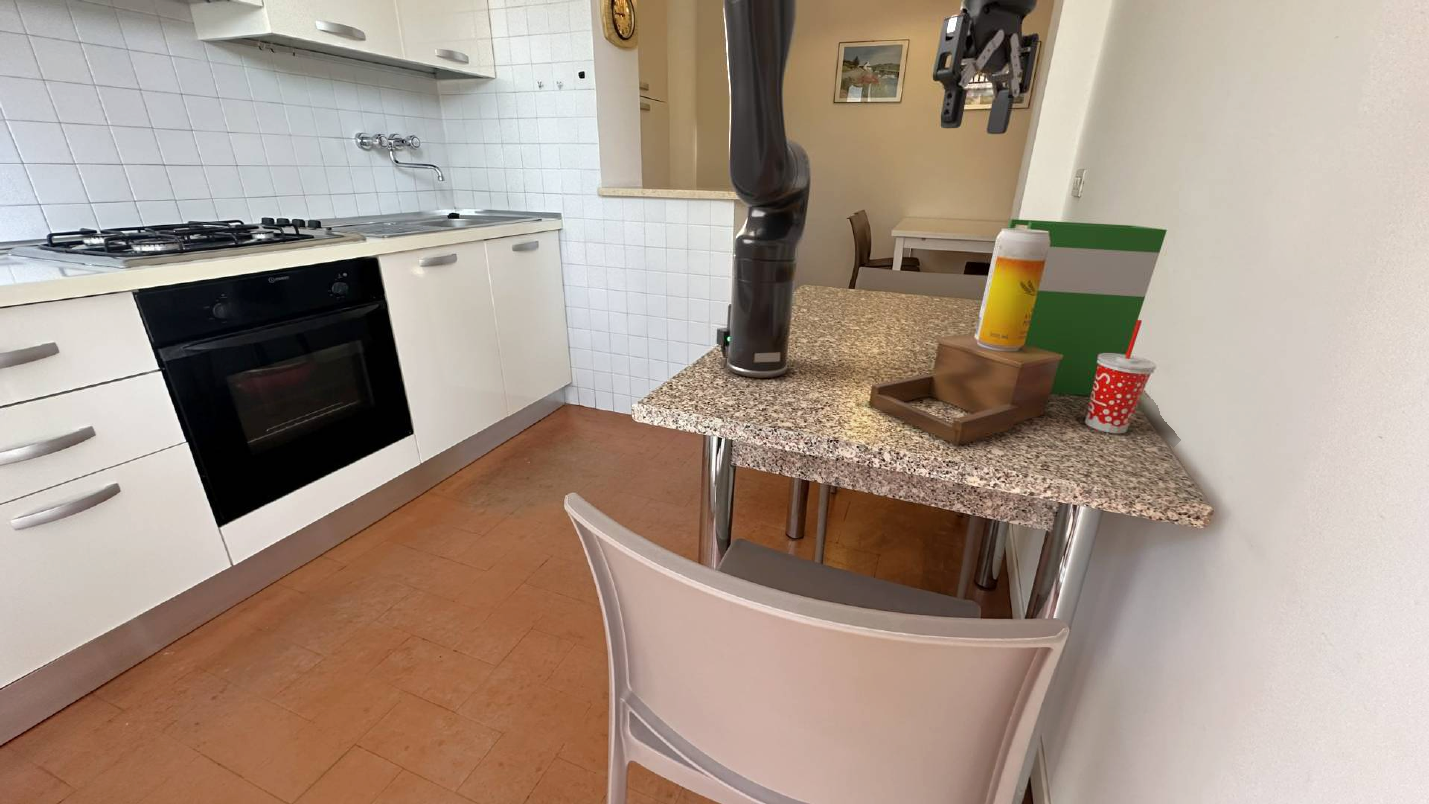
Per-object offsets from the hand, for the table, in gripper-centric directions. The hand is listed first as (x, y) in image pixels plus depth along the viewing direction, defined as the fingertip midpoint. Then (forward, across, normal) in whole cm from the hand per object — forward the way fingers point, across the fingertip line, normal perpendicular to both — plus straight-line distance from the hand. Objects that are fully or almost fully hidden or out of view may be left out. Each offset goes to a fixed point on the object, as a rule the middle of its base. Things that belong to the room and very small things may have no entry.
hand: (973, 130), depth 66 cm
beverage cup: (+34, -16, +16) cm, 41 cm away
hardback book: (+34, -25, +2) cm, 43 cm away
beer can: (+26, -8, +4) cm, 28 cm away
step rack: (+34, -4, +4) cm, 35 cm away
